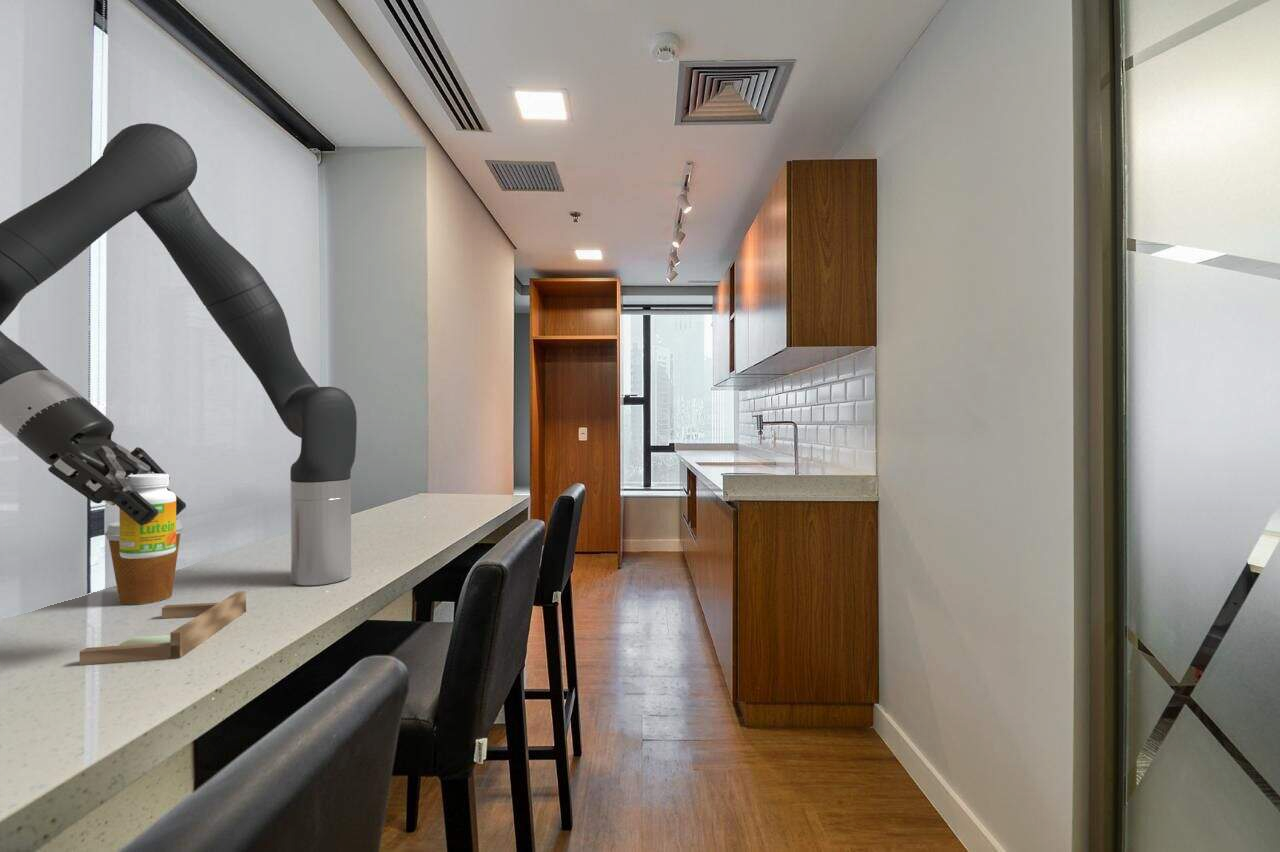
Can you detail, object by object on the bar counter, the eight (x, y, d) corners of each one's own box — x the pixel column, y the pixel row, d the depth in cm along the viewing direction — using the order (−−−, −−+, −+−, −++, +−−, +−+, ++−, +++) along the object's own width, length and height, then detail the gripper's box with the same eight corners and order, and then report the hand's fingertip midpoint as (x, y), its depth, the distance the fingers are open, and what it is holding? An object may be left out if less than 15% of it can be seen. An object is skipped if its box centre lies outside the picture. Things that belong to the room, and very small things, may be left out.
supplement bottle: (138, 561, 71) (137, 477, 71) (108, 557, 73) (108, 475, 72) (186, 551, 76) (186, 473, 76) (158, 548, 78) (158, 472, 77)
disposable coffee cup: (140, 610, 88) (139, 528, 88) (88, 606, 90) (87, 525, 90) (200, 592, 98) (199, 517, 98) (151, 588, 100) (150, 515, 99)
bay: (166, 615, 86) (166, 594, 86) (246, 611, 88) (245, 590, 88) (79, 664, 69) (79, 638, 69) (180, 657, 71) (179, 632, 71)
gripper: (29, 392, 65) (156, 501, 68) (116, 397, 80) (218, 487, 82) (-29, 442, 64) (101, 550, 67) (69, 437, 79) (174, 527, 81)
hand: (165, 515), depth 74 cm, fingers closed on supplement bottle, 5 cm apart
